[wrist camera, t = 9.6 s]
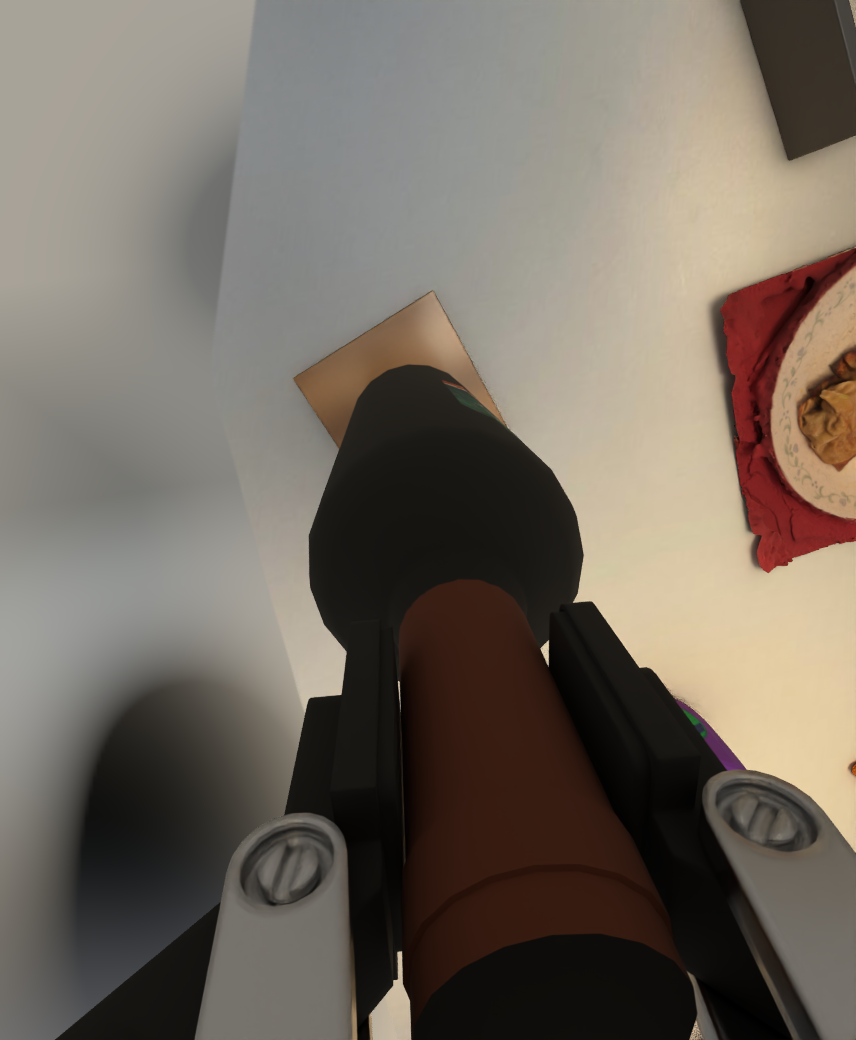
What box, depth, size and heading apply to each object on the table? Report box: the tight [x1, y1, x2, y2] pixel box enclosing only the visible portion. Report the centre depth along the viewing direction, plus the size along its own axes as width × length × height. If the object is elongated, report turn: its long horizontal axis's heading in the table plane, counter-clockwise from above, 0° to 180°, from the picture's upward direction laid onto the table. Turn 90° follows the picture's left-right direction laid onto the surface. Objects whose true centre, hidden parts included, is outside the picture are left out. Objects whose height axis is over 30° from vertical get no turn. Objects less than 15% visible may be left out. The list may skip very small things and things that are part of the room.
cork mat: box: [293, 291, 507, 449], centre depth 44 cm, size 12×12×1 cm
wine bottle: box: [309, 364, 698, 1040], centre depth 20 cm, size 8×8×30 cm
